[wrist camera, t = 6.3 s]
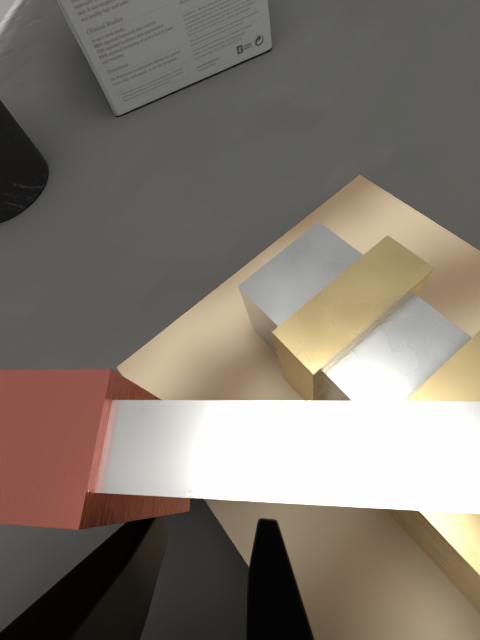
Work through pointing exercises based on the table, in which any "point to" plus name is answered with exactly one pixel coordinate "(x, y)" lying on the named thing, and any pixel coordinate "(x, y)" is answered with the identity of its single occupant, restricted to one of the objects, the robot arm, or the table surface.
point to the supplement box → (164, 42)
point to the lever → (220, 451)
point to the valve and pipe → (371, 354)
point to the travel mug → (18, 168)
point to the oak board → (269, 385)
